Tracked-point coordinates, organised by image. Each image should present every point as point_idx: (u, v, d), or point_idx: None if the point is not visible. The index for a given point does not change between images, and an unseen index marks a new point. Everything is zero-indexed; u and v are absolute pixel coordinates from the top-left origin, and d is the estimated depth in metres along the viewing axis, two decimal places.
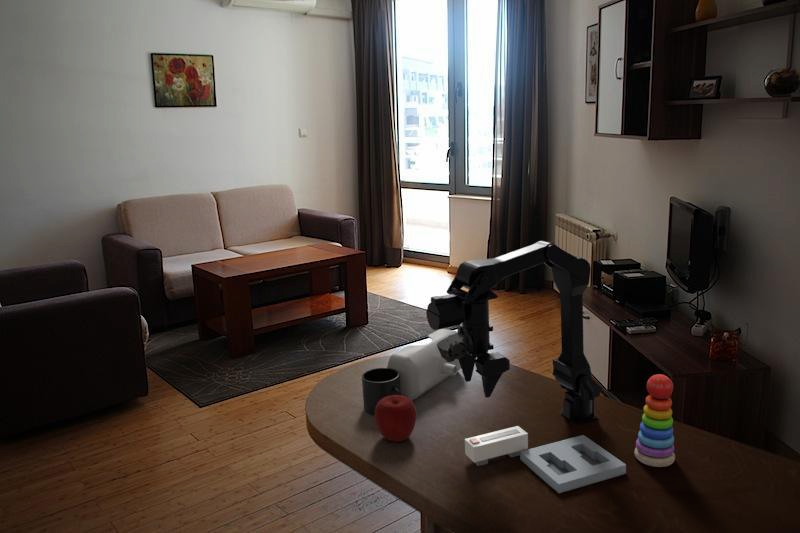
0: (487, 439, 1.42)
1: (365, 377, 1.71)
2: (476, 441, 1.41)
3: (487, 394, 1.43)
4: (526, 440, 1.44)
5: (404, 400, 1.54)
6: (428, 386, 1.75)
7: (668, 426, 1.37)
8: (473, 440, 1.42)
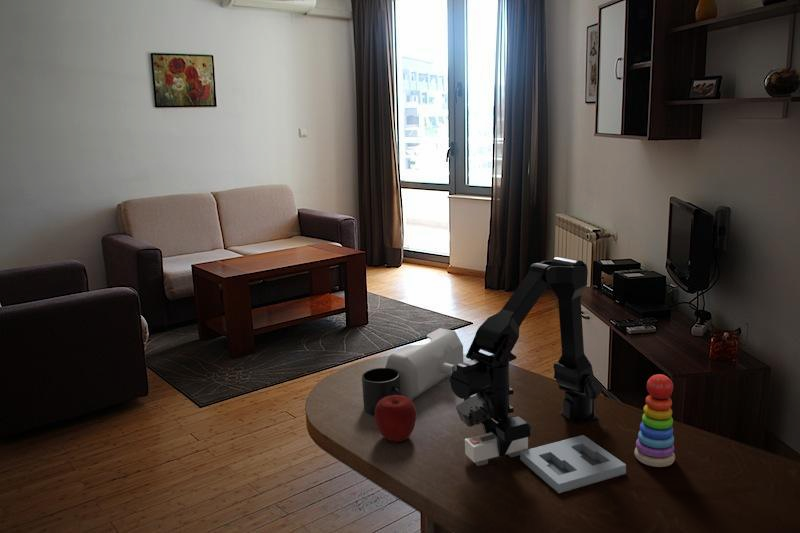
0: (487, 439, 1.42)
1: (365, 377, 1.71)
2: (476, 441, 1.41)
3: (502, 453, 1.42)
4: (526, 440, 1.44)
5: (404, 400, 1.54)
6: (427, 386, 1.75)
7: (668, 426, 1.37)
8: (473, 440, 1.42)
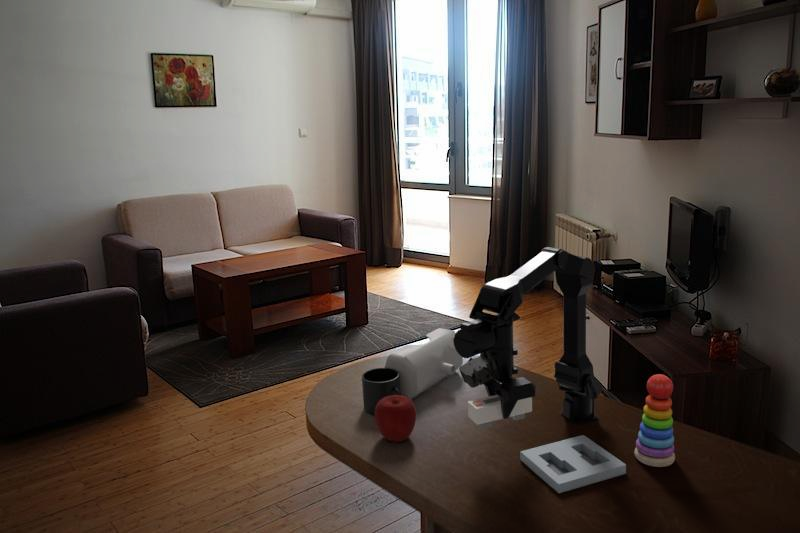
0: (490, 401, 1.40)
1: (365, 377, 1.71)
2: (479, 403, 1.39)
3: (506, 415, 1.40)
4: (530, 403, 1.42)
5: (404, 400, 1.54)
6: (426, 385, 1.75)
7: (668, 426, 1.37)
8: (476, 402, 1.40)
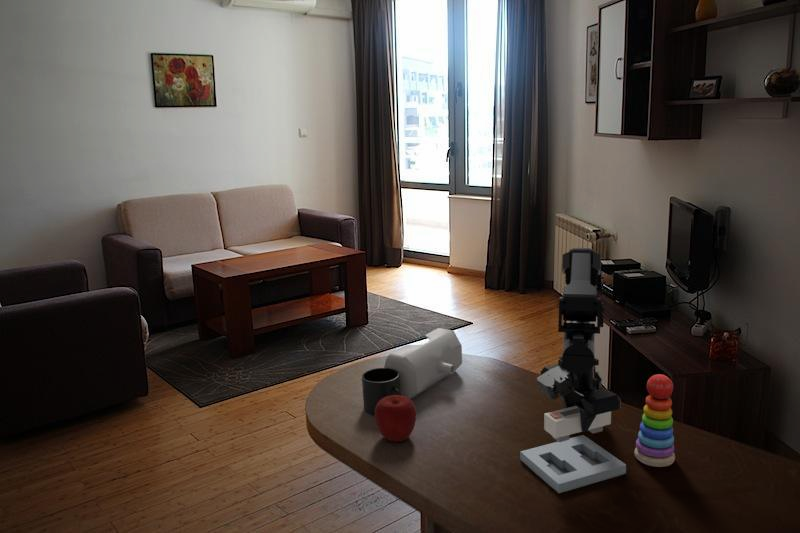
0: (569, 414, 1.34)
1: (365, 377, 1.71)
2: (557, 415, 1.33)
3: (585, 428, 1.34)
4: (609, 415, 1.36)
5: (404, 400, 1.54)
6: (425, 385, 1.75)
7: (668, 426, 1.37)
8: (554, 414, 1.33)
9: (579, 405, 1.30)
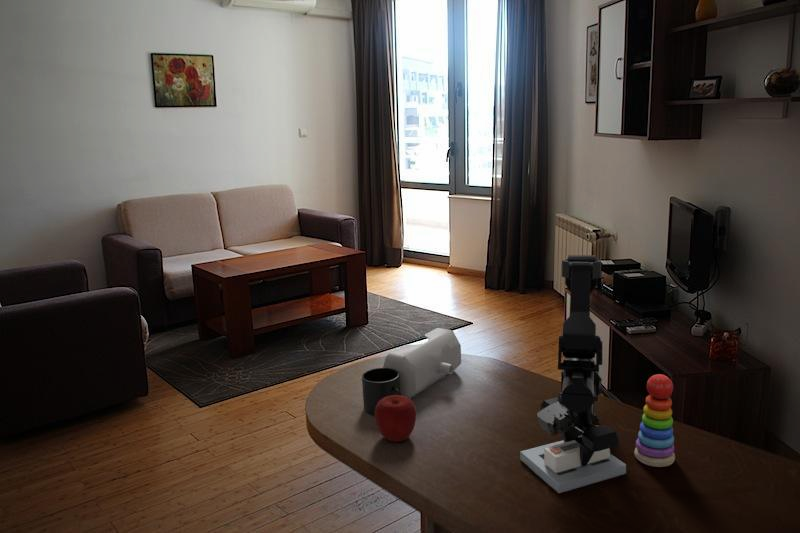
0: (568, 448, 1.36)
1: (365, 377, 1.71)
2: (557, 450, 1.35)
3: (584, 462, 1.36)
4: (608, 449, 1.38)
5: (404, 400, 1.54)
6: (424, 385, 1.75)
7: (668, 426, 1.37)
8: (554, 449, 1.35)
9: (579, 441, 1.32)
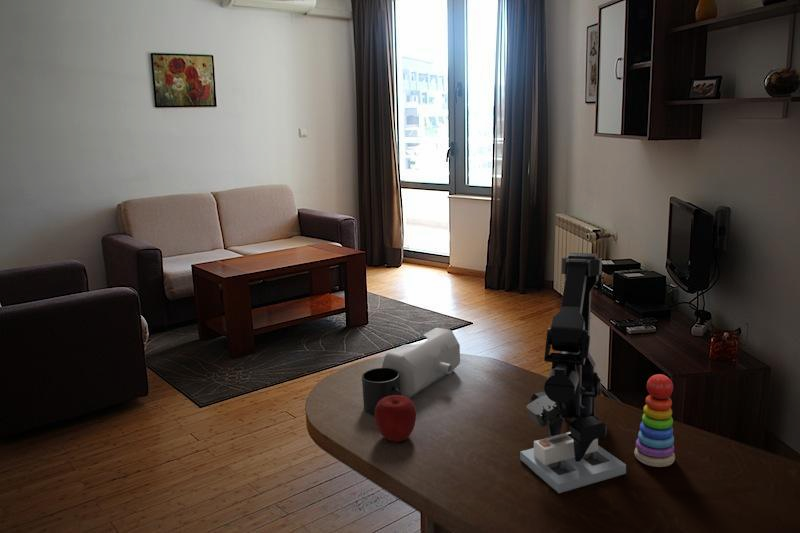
0: (557, 441, 1.39)
1: (365, 377, 1.71)
2: (546, 443, 1.38)
3: (578, 458, 1.37)
4: (596, 442, 1.41)
5: (404, 400, 1.54)
6: (423, 385, 1.75)
7: (668, 426, 1.37)
8: (543, 442, 1.39)
9: (573, 436, 1.33)
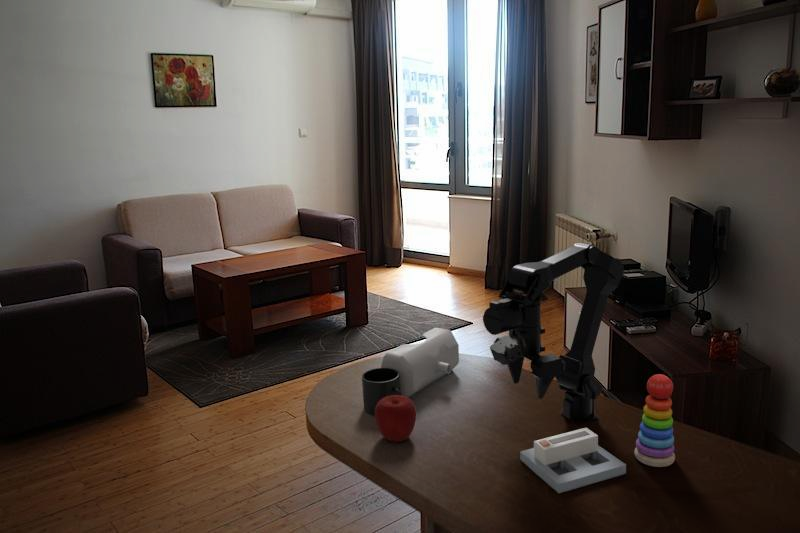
0: (557, 441, 1.39)
1: (365, 377, 1.71)
2: (546, 443, 1.38)
3: (541, 395, 1.45)
4: (596, 442, 1.41)
5: (404, 400, 1.54)
6: (422, 385, 1.76)
7: (668, 426, 1.37)
8: (543, 442, 1.39)
9: (535, 373, 1.41)
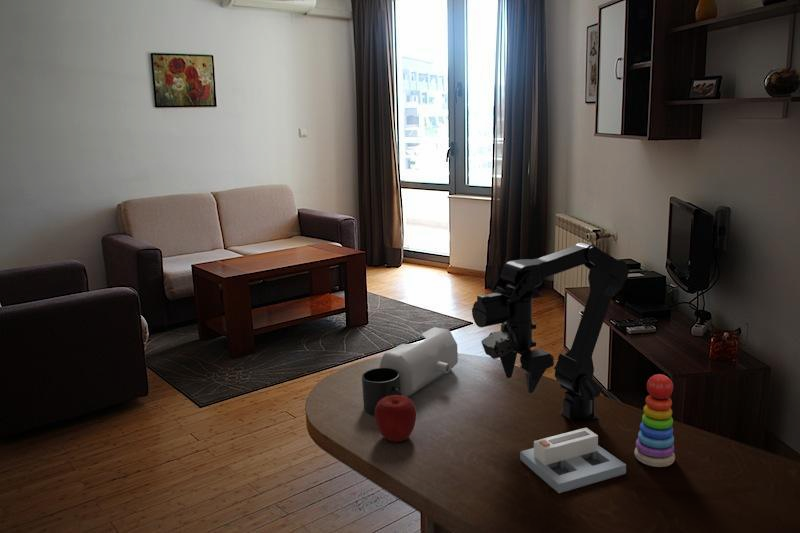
0: (557, 441, 1.39)
1: (365, 377, 1.71)
2: (546, 443, 1.38)
3: (531, 390, 1.47)
4: (596, 442, 1.41)
5: (404, 400, 1.54)
6: (421, 384, 1.76)
7: (668, 426, 1.37)
8: (543, 442, 1.39)
9: (524, 368, 1.44)
